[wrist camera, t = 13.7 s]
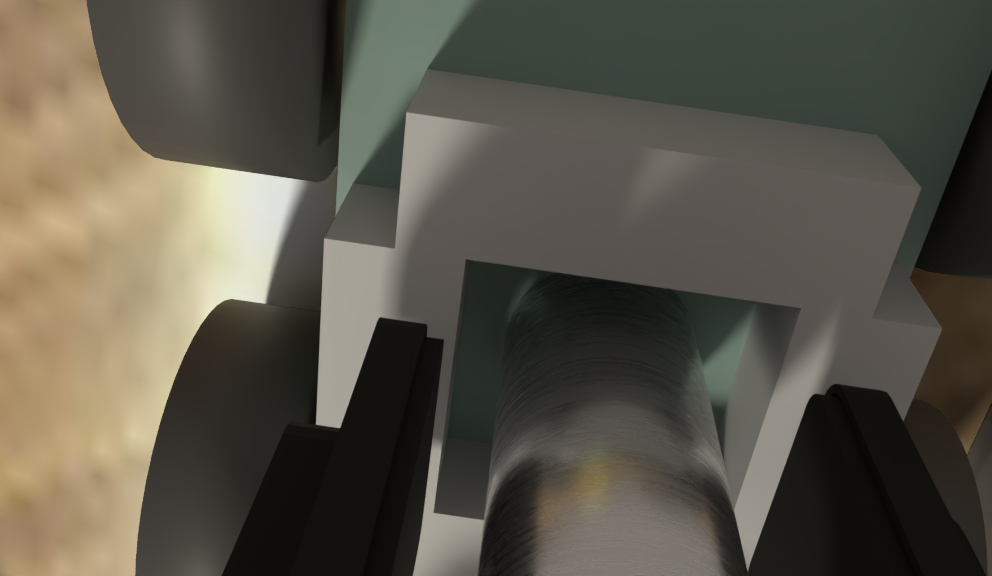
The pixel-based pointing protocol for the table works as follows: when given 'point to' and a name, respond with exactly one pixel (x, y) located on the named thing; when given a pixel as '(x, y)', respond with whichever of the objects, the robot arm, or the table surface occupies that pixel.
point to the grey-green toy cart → (566, 215)
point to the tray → (984, 478)
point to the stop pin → (605, 440)
